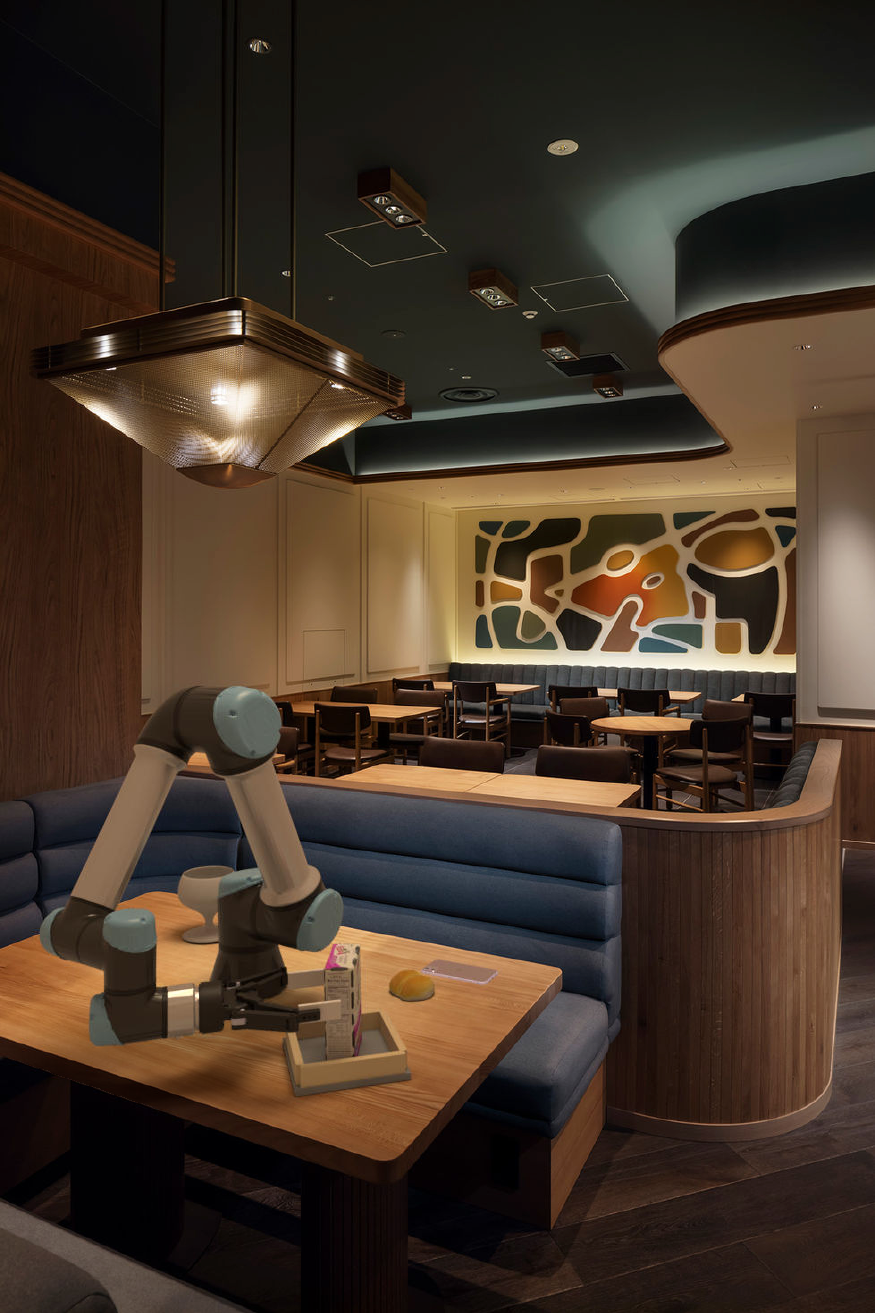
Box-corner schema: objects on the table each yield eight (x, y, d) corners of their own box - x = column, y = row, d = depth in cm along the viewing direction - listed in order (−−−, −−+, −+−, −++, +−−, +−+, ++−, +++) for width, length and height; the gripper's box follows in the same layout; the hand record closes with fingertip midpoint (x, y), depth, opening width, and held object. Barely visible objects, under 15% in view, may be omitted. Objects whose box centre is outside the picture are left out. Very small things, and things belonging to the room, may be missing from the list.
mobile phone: (484, 982, 170) (418, 969, 176) (484, 987, 170) (418, 974, 176) (499, 969, 176) (435, 957, 183) (499, 973, 176) (435, 961, 183)
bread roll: (411, 1006, 160) (411, 985, 160) (382, 992, 167) (382, 972, 167) (444, 994, 166) (444, 974, 166) (415, 981, 172) (414, 961, 172)
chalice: (251, 934, 200) (251, 871, 200) (200, 950, 190) (199, 883, 190) (217, 922, 209) (216, 861, 209) (166, 936, 199) (165, 872, 199)
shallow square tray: (282, 1043, 145) (282, 1019, 145) (385, 1029, 150) (385, 1007, 150) (295, 1096, 128) (295, 1070, 128) (411, 1079, 133) (411, 1053, 133)
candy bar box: (333, 1038, 144) (332, 942, 144) (362, 1038, 144) (361, 942, 144) (323, 1071, 133) (322, 967, 133) (355, 1071, 133) (354, 967, 133)
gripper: (196, 1000, 144) (321, 985, 150) (198, 1070, 120) (347, 1049, 126) (196, 956, 144) (321, 943, 150) (198, 1017, 120) (347, 999, 126)
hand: (333, 992), depth 138 cm, fingers open, 13 cm apart
